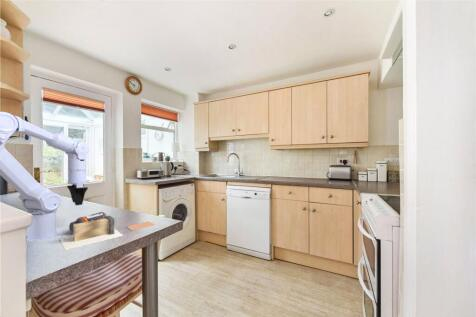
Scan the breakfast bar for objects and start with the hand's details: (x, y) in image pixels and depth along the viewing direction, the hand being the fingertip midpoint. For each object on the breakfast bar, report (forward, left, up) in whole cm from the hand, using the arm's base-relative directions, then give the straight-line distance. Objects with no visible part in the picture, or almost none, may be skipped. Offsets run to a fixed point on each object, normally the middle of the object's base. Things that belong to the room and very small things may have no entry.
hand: (77, 203), depth 84 cm
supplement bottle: (+7, -8, -6) cm, 13 cm away
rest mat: (+1, -20, -9) cm, 22 cm away
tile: (+13, -20, -9) cm, 26 cm away
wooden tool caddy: (+1, -19, -9) cm, 21 cm away
